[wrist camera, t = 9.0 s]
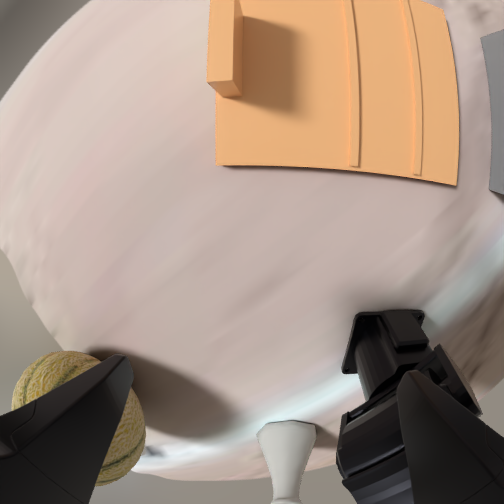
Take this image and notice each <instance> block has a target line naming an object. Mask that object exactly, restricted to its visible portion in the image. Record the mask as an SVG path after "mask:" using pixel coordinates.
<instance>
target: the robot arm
mask: <svg viewBox="0 0 504 504" xmlns="http://www.w3.org/2000/svg"><path fill="white" fill-rule="evenodd" d="M418 316H419V317H418ZM424 317H425V315H424V313H423V312H422V311H421V310H415V311H409V310H397V311H383V312H361V313H358V314H357V315H356V316H355V318H354V322H353V326H352V330H351V334H350V338H349V342H348V346H347V349H346V353H345V357H344V360H343V364H342V367H341V370H342V373H343V374H357V373H358V375H359V379H360V382H361V386H362V389H363V393H364V396H365V400H366V402H365V403H363V404H362V405H360V406H359V407H357V408H355V409H354V410H352V411H351V412H347V413H345V414H343V415H342V419H341V427H340V433H339V440H338V446H337V452H336V464H337V466H338V469H339V471H340V474H341V476H342V477H343V478H344V479H343V480H342V484H343V485H344V486H345V487H346V488H347V489H348V490H349V491H350V493H351V494H352V496H353V497H354V499H355V500H356V502H357V504H504V437H502V436H501V435H499V434H498V433H497V432H495V431H494V430H493V429H492V428H490V427H489V426H488V425H486V424H485V423H484V422H483V421H481V420H480V419H479V418H478V417H480V416H481V415H482V414H483V413H482V411H481V408H480V406H479V404H478V402H477V399H476V397H475V395H474V393H473V390H472V388H471V387H470V385H469V383H468V382H467V380H466V379H465V377H464V375H463V374H462V372H461V371H460V369H459V368H458V366H457V365H456V364H455V362H454V361H453V360H452V359H451V357H450V356H449V355H448V353H447V352H446V351H445V350H444V348H443V347H442V346H441V345H440V344H439V345H437V346H436V347H435V348H434V351H432V349H431V348H430V346H429V344H428V343H429V339H428V337H427V336H426V334H425V333H424V331H423V330H422V328H421V326H422V323H423V320H424ZM360 318H363V319H362V320H359V319H360ZM347 368H348V369H347ZM133 378H134V373H133V370H132V367H131V364H130V361H129V358H128V357H127V356H125V355H121V354H114V355H112V356H111V357H109V358H107V359H106V360H104V361H102V362H100V363H99V364H97V365H95V366H93V367H92V368H90V369H88V370H86V371H85V372H83V373H81V374H79V375H78V376H76V377H74V378H72V379H71V380H69V381H67V382H65V383H63V384H62V385H60V386H58V387H56V388H55V389H53V390H51V391H49V392H47V393H46V394H44V395H42V396H40V397H38V398H37V399H35V400H33V401H31V402H29V403H27V404H25V405H23V406H21V407H19V408H17V409H15V410H13V411H11V412H8V413H6V414H3V415H1V416H0V504H89V501H90V498H91V495H92V492H93V490H94V487H95V484H96V481H97V479H98V476H99V473H100V470H101V468H102V465H103V463H104V460H105V457H106V455H107V452H108V450H109V447H110V445H111V442H112V440H113V437H114V435H115V432H116V430H117V428H118V425H119V423H120V420H121V418H122V415H123V412H124V409H125V405H126V402H127V399H128V395H129V392H130V389H131V385H132V382H133Z"/></svg>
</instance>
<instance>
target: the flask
mask: <svg viewBox="0 0 504 504" xmlns="http://www.w3.org/2000/svg"><path fill="white" fill-rule="evenodd" d="M256 435H257V438H258V441H259V444H260V446H261V449H262V452H263V454H264V457H265V460H266V463H267V466H268V468H269V471H270V474H271V477H272V483H273V489H274V496H273V501H272V502H271V503H270V504H302V502H301V500H300V499H299V489H300V484H301V479H302V475H303V473H304V470H305V467H306V465H307V462H308V459H309V456H310V454H311V451H312V449H313V446H314V443H315V441H316V437H317V434H316V429H315V425H312V424H306V423H301V422H296V421H286V422H277V423H268V424H265V426H264V427H263V428H262V429H261V430H260V431H259V432H258V433H257V434H256Z"/></svg>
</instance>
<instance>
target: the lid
mask: <svg viewBox="0 0 504 504" xmlns="http://www.w3.org/2000/svg"><path fill="white" fill-rule="evenodd" d="M207 83H208V84H209V85H210V86H211V87H212V88H214V89H215V90H216V165H266V166H296V167H315V168H329V169H342V170H353V171H363V172H372V173H380V174H388V175H396V176H403V177H410V178H416V179H422V180H428V181H434V182H440V183H445V184H450V185H455V186H456V182H457V171H458V154H459V110H458V93H457V82H456V73H455V65H454V59H453V52H452V47H451V41H450V36H449V32H448V27H447V23H446V19H445V15H444V11H443V10H442V9H440V8H438V7H435V6H433V5H431V4H428V3H426V2H423V1H421V0H210V15H209V32H208V53H207Z"/></svg>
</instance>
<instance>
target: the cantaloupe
mask: <svg viewBox="0 0 504 504" xmlns="http://www.w3.org/2000/svg"><path fill="white" fill-rule="evenodd" d="M100 362H101V361H99V360H98V359H96V358H94V357H92V356H90V355H87V354H84V353H81V352H76V351H62V352H52V353H50V354H47V355H44V356H42V357H40V358H39V359H38V360H36V361H35V362H34V363H32V364H31V365H30V366H29V367H28V368H27V369H26V370H25V371H24V372H23V374H22V376H21V378H20V380H19V381H18V383H17V384H16V387H15V390H14V393H13V398H12V411H13V410H15V409H17V408H19V407H21V406H23V405H25V404H27V403H29V402H31V401H33V400H35V399H37V398H38V397H40V396H42V395H44V394H46V393H47V392H49V391H51V390H53V389H55V388H56V387H58V386H60V385H62V384H63V383H65V382H67V381H69V380H71V379H72V378H74V377H76V376H78V375H79V374H81V373H83V372H85V371H86V370H88V369H90V368H92V367H93V366H95V365H97V364H99V363H100ZM145 437H146V430H145V420H144V414H143V410H142V407H141V405H140V402H139V400H138V397H137V396H136V394H135V392H134V391H133V389H132V388H131V389H130V392H129V395H128V399H127V402H126V405H125V409H124V412H123V415H122V418H121V420H120V423H119V425H118V428H117V430H116V432H115V435H114V437H113V440H112V442H111V445H110V447H109V450H108V452H107V455H106V457H105V460H104V463H103V465H102V468H101V470H100V473H99V476H98V479H97V481H96V484H95V486H103V485H106V484H110V483H112V482H114V481H117V480H118V479H120V478H121V477H123V476H125V475H126V474H127V473H128V472H129V471H130V470H131V469H132V468H133V467H134V466H135V465H136V463H137V461H138V460H139V458H140V456H141V453H142V451H143V449H144V444H145Z"/></svg>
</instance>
